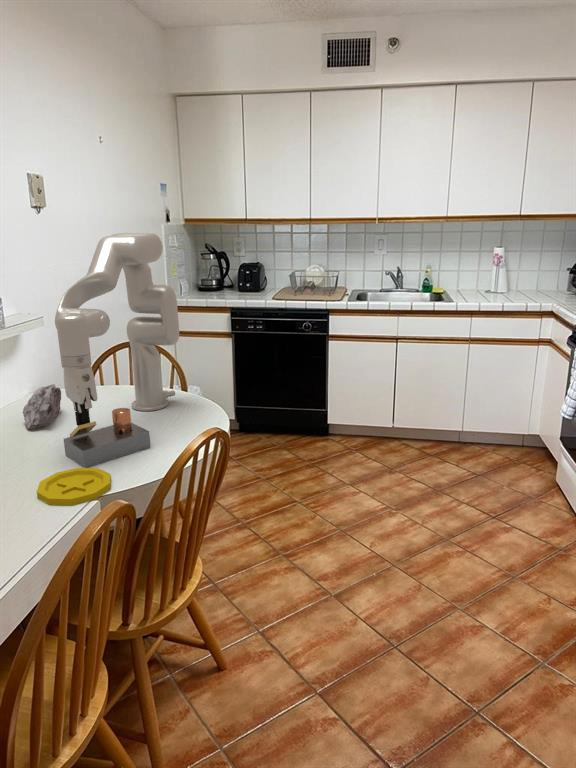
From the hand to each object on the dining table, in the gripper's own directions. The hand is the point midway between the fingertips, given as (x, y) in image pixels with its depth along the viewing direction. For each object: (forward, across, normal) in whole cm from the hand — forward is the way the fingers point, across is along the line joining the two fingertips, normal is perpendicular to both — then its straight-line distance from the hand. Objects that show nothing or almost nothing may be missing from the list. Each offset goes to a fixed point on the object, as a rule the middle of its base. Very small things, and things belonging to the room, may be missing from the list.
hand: (83, 424), depth 157 cm
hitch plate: (+9, -1, -6) cm, 11 cm away
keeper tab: (+2, 0, 0) cm, 2 cm away
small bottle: (+9, -1, -11) cm, 14 cm away
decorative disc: (+10, -16, +11) cm, 22 cm away
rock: (+10, +38, -3) cm, 39 cm away
